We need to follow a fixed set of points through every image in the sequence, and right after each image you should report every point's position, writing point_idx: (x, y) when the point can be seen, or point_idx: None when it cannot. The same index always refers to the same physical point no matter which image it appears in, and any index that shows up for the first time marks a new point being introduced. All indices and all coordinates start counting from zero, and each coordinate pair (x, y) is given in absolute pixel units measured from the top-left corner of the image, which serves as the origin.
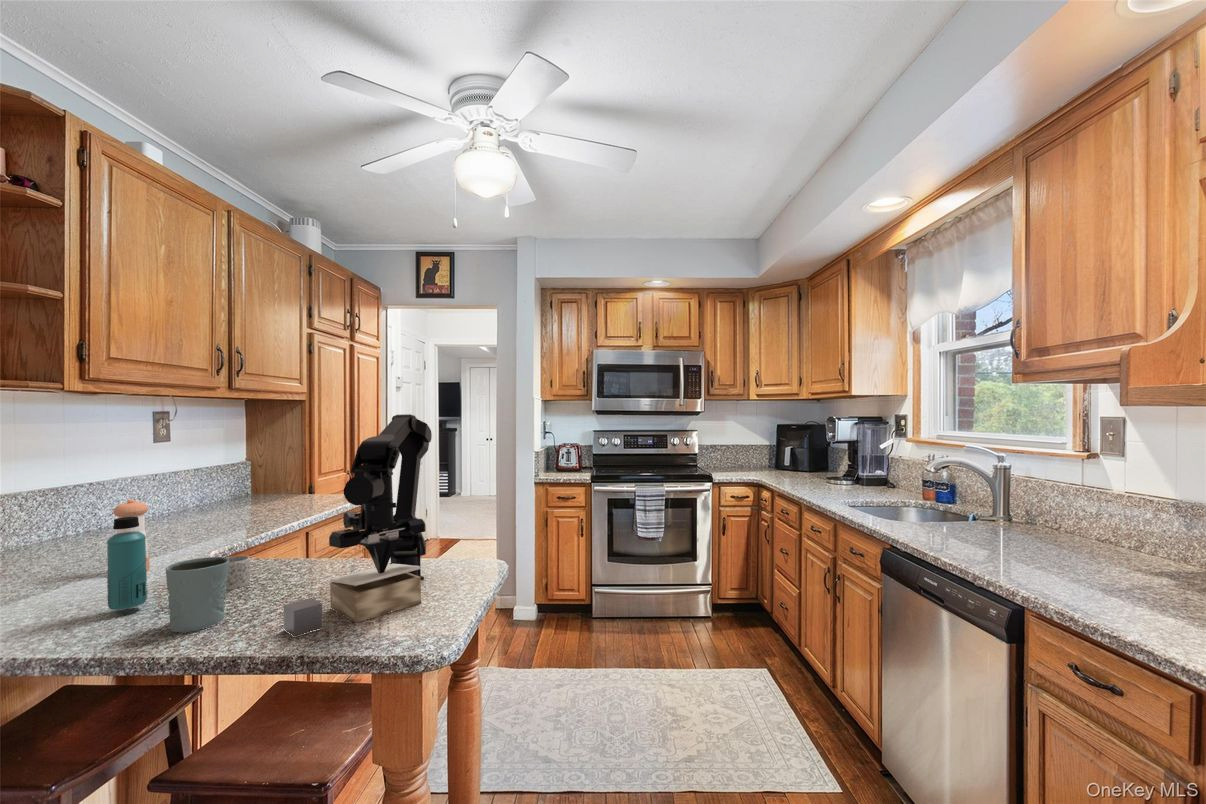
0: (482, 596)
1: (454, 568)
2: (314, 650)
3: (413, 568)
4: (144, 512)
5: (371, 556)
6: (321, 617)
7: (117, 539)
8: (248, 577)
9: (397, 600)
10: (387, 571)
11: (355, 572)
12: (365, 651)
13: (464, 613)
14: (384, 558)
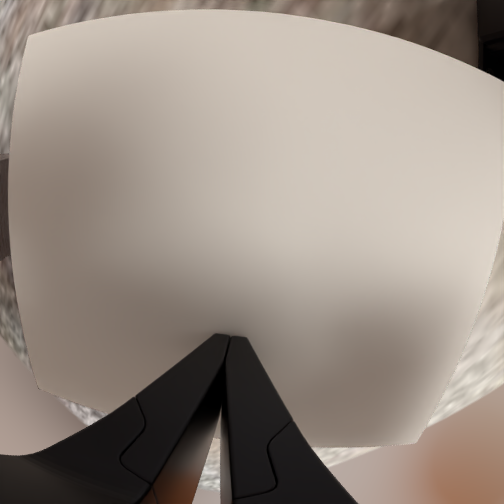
0: (463, 405)
1: None
2: (14, 336)
3: (378, 442)
4: None
5: (117, 416)
6: (10, 252)
7: None
8: None
9: None
10: (278, 361)
11: (197, 12)
12: (89, 418)
13: (346, 450)
14: (221, 474)
